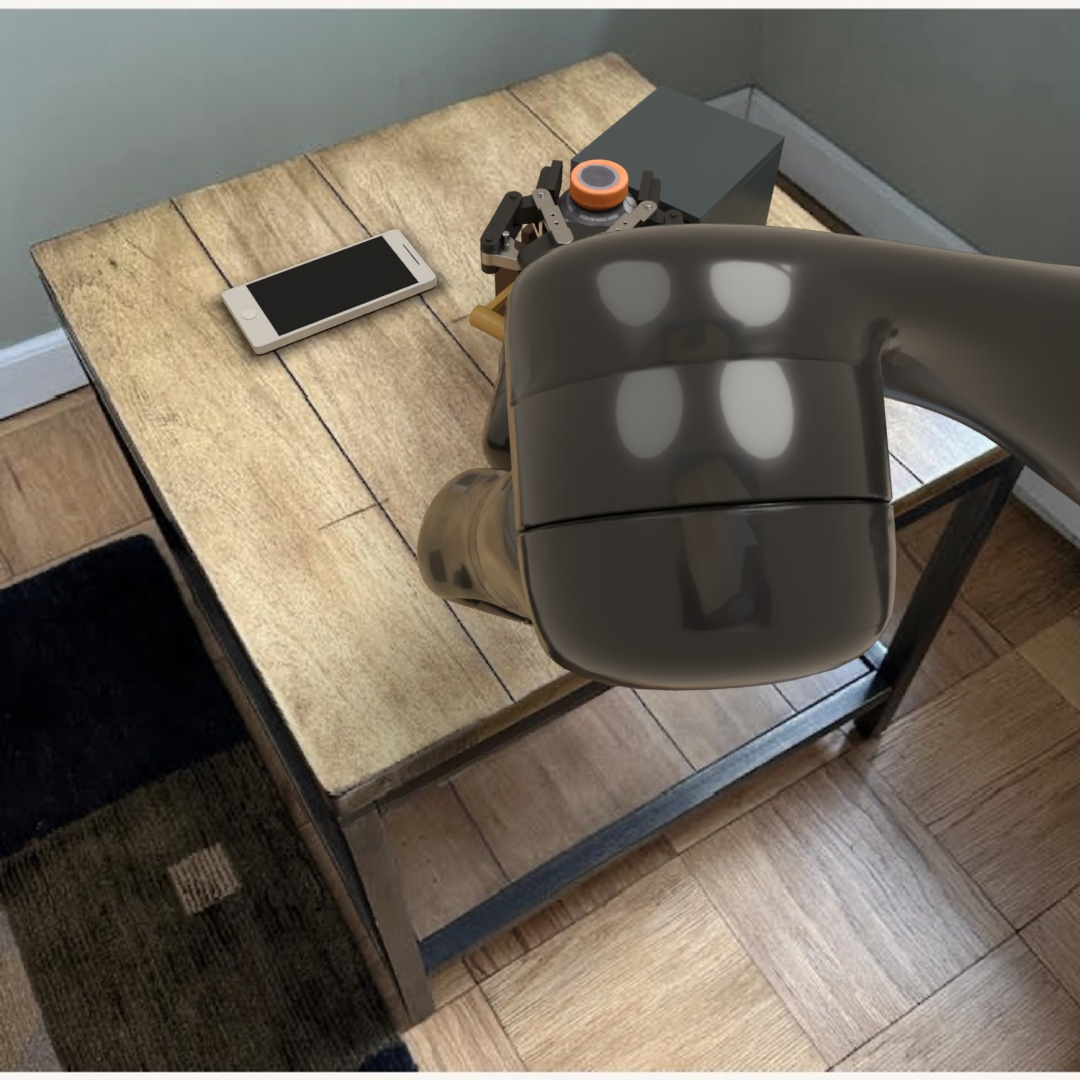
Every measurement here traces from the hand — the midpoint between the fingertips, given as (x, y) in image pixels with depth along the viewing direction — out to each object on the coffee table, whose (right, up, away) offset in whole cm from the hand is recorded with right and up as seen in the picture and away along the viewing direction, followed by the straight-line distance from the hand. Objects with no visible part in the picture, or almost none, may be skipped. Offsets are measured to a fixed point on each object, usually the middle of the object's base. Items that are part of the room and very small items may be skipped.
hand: (601, 176), depth 78 cm
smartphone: (-21, -6, +9) cm, 24 cm away
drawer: (-2, -9, +6) cm, 11 cm away
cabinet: (+6, -2, +13) cm, 14 cm away
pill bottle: (0, -8, +6) cm, 10 cm away
